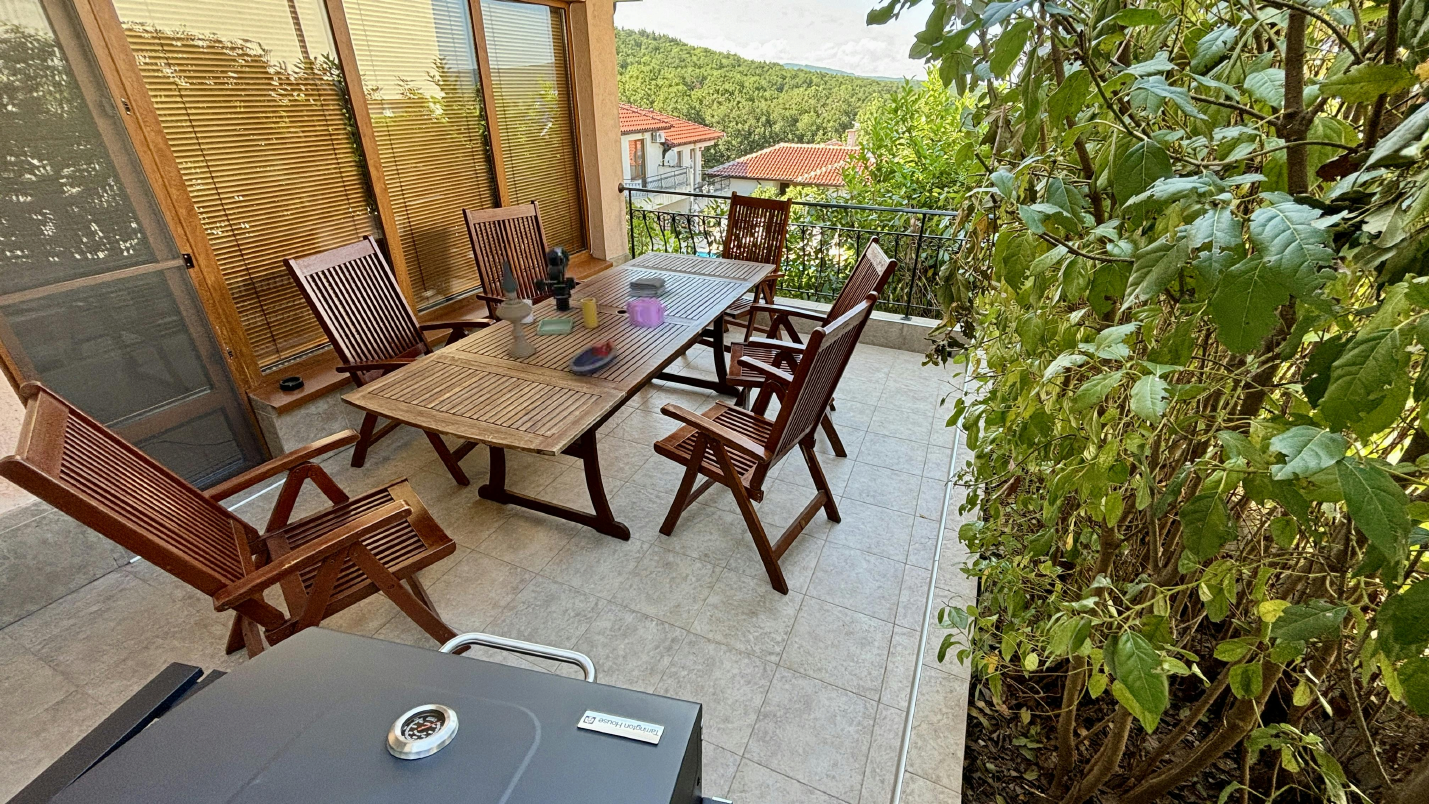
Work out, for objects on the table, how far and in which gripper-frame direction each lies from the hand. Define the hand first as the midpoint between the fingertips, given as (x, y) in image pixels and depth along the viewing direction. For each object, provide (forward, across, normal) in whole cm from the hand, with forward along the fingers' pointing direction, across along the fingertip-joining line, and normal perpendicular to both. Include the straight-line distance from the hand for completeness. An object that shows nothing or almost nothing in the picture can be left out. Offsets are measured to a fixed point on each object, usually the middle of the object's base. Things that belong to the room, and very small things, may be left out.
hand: (555, 295), depth 286 cm
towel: (-34, +45, +34) cm, 66 cm away
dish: (+53, +20, -10) cm, 57 cm away
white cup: (-2, -17, +18) cm, 25 cm away
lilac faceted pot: (+11, +43, +12) cm, 46 cm away
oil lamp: (+36, -13, -1) cm, 38 cm away
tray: (+11, -1, +11) cm, 16 cm away
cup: (+10, +16, +12) cm, 22 cm away
